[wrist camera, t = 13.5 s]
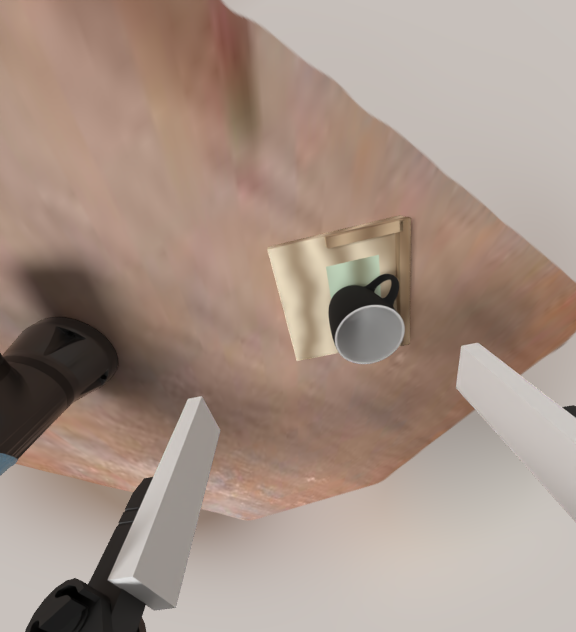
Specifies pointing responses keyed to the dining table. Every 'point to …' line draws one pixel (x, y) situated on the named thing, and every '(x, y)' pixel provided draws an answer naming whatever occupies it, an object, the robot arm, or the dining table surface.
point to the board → (339, 277)
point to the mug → (366, 322)
